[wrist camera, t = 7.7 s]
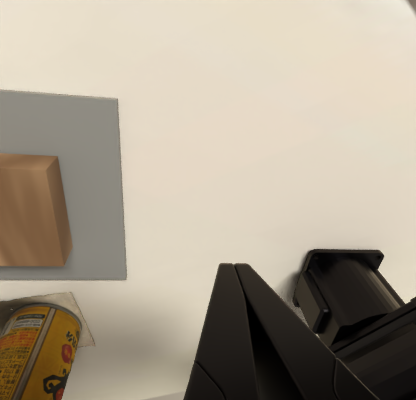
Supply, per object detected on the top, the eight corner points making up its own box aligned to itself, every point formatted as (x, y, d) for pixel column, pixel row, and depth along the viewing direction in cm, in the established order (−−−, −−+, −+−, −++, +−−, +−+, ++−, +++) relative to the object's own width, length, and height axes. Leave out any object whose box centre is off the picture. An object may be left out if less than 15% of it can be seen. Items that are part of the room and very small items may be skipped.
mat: (117, 98, 17) (116, 100, 17) (126, 276, 24) (126, 279, 24) (-118, 80, 16) (-125, 81, 15) (-36, 275, 23) (-39, 279, 22)
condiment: (95, 343, 28) (51, 525, 18) (4, 355, 28) (-93, 548, 18) (72, 289, 25) (-1, 481, 14) (-34, 303, 24) (-186, 508, 14)
